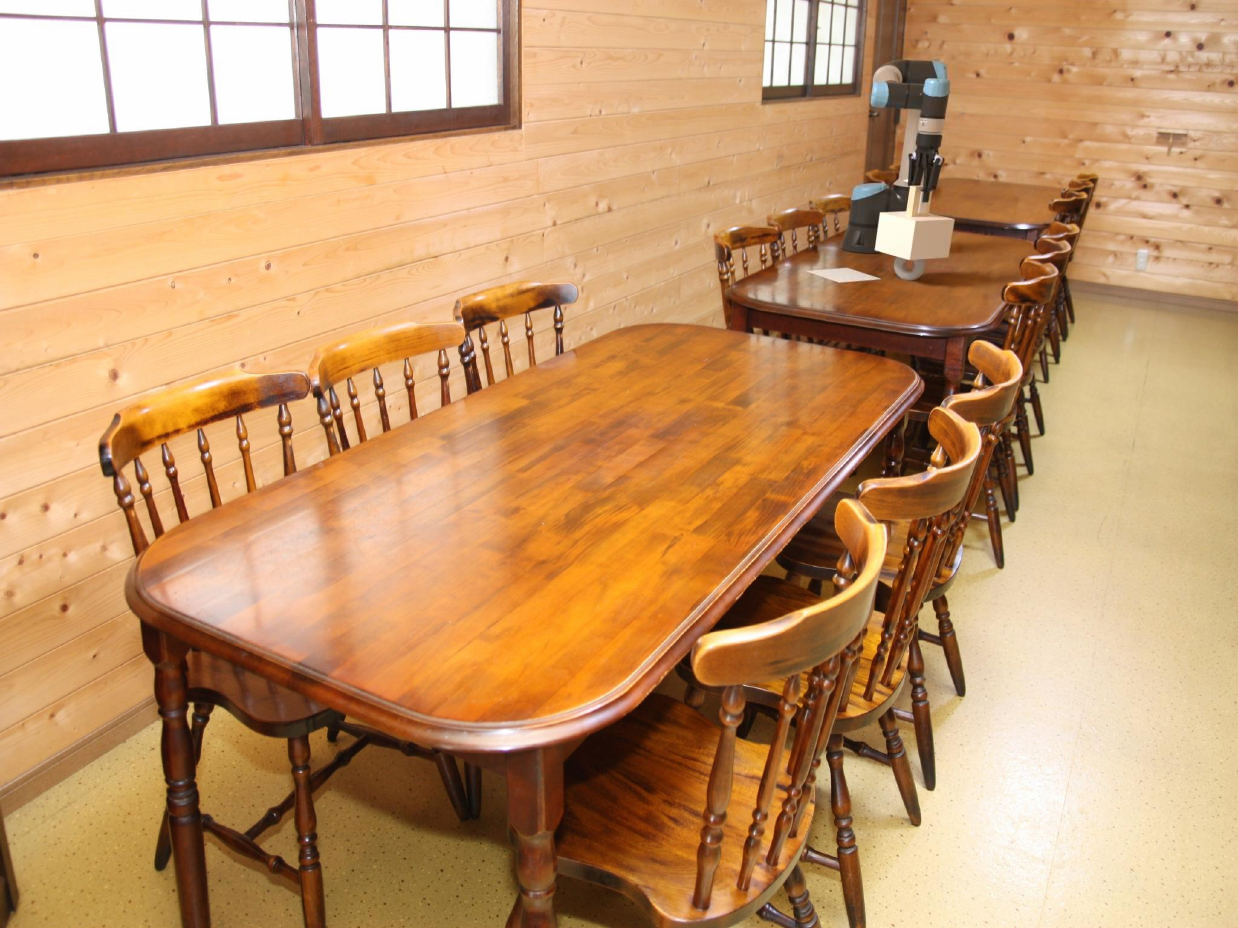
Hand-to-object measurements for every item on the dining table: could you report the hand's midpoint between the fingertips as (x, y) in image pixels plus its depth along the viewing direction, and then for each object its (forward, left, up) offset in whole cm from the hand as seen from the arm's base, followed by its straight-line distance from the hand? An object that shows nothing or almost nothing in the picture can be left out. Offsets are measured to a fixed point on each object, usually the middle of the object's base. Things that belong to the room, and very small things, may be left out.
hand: (917, 211), depth 321 cm
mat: (-11, -17, -22) cm, 30 cm away
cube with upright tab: (0, 0, -13) cm, 13 cm away
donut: (0, 0, -22) cm, 22 cm away
